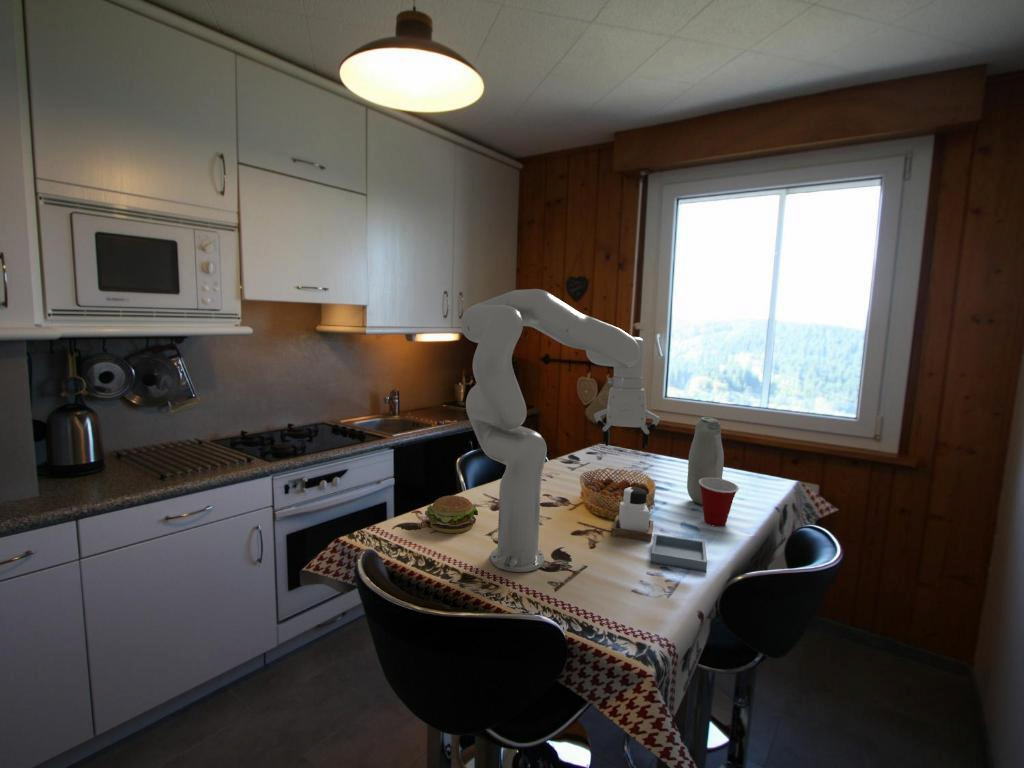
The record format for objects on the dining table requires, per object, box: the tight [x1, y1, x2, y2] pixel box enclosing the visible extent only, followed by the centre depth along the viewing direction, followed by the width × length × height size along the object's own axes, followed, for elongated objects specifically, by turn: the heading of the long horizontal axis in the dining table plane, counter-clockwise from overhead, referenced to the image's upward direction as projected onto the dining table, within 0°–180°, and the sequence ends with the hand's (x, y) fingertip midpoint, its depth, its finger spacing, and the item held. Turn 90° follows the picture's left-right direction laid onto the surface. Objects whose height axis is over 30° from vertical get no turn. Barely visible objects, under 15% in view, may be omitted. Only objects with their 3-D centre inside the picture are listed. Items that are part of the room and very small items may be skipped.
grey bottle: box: [686, 416, 725, 506], centre depth 167 cm, size 10×10×28 cm
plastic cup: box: [699, 478, 740, 527], centre depth 151 cm, size 11×11×12 cm
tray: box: [650, 533, 708, 573], centre depth 128 cm, size 12×12×2 cm
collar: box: [611, 515, 654, 542], centre depth 144 cm, size 10×10×2 cm
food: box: [424, 494, 479, 534], centre depth 142 cm, size 14×14×8 cm
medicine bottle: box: [618, 486, 650, 533], centre depth 143 cm, size 7×7×12 cm
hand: (625, 446), depth 142 cm, fingers open, 9 cm apart
